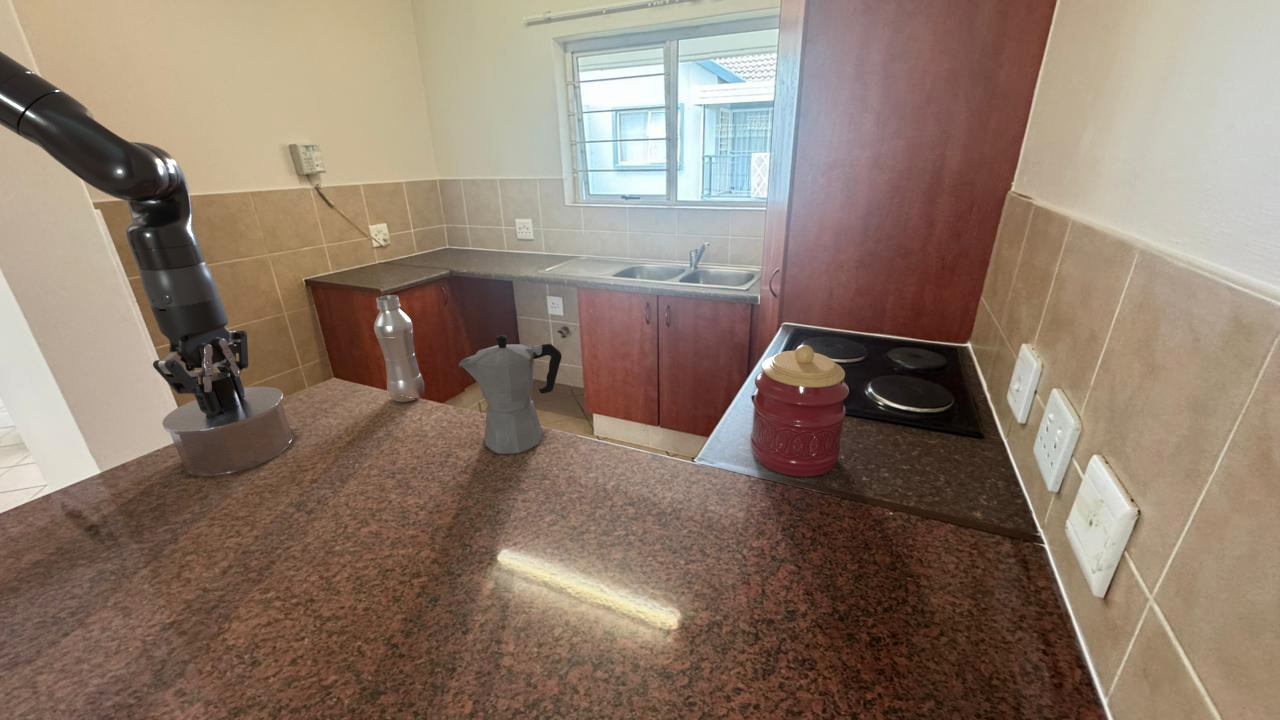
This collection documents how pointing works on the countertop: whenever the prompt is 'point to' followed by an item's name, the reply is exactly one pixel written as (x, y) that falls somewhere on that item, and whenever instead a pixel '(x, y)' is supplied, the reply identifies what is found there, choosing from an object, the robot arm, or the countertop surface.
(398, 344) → the plastic bottle
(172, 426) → the pan lid
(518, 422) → the coffeepot
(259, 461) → the saucepan
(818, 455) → the kitchen canister
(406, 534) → the countertop surface
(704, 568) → the countertop surface
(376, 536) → the countertop surface
